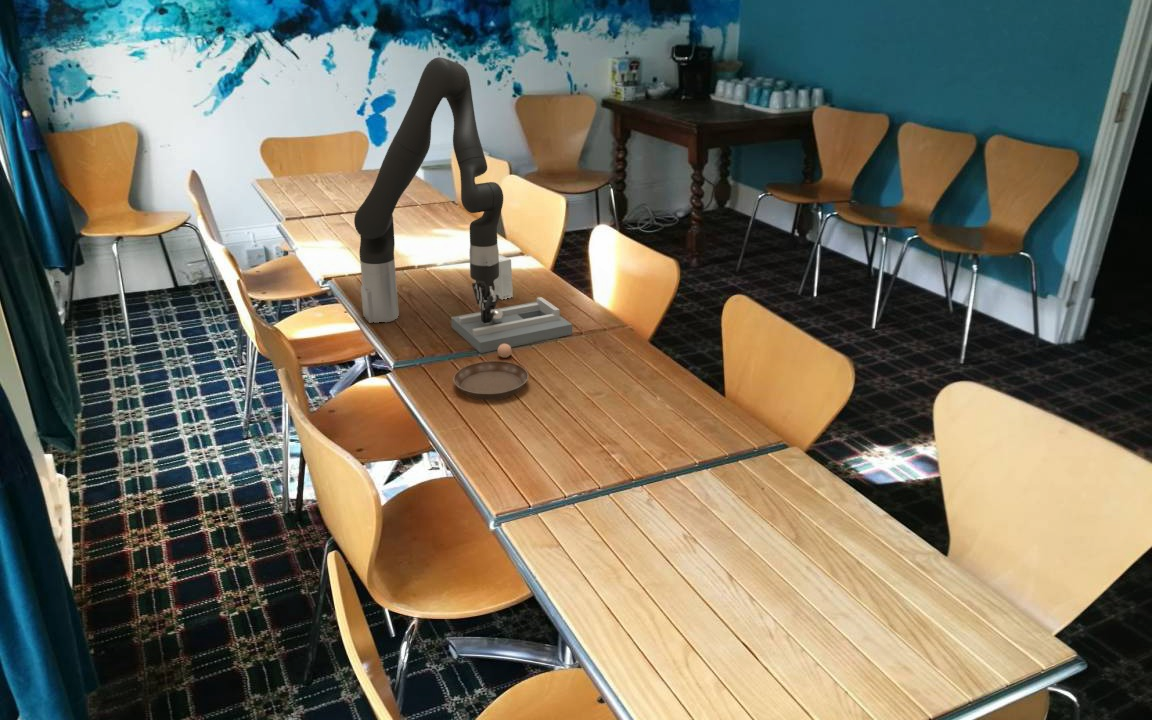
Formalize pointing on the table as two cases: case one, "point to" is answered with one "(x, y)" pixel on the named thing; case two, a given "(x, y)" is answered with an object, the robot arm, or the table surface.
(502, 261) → the skincare box
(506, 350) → the terracotta ball
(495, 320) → the steel ball
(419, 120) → the robot arm
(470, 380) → the plant saucer
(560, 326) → the slate board
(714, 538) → the table surface
